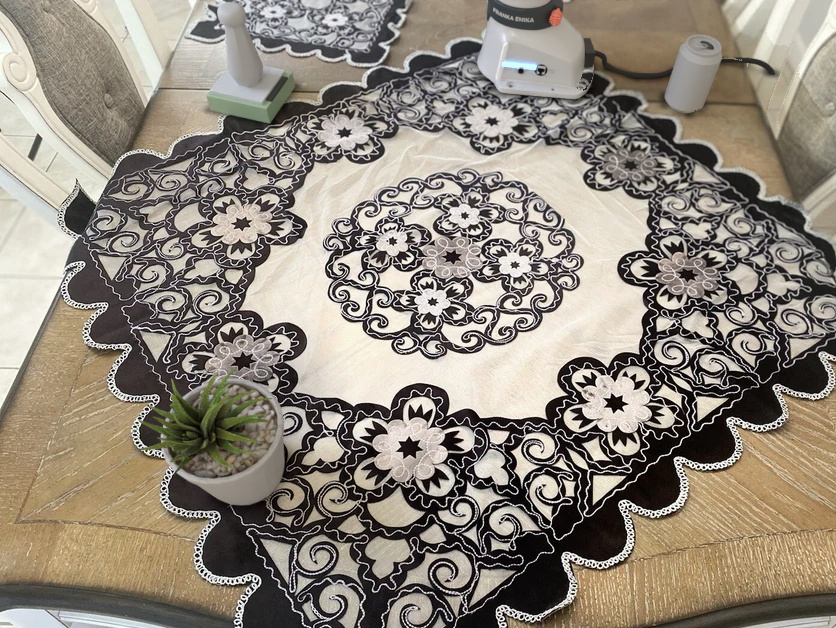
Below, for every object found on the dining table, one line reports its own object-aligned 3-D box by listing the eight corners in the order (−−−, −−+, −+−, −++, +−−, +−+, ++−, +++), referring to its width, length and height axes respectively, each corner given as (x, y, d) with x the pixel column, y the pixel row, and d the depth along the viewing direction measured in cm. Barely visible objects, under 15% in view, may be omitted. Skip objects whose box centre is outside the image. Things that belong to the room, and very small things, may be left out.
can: (711, 107, 126) (734, 48, 116) (682, 120, 124) (704, 60, 114) (683, 86, 130) (704, 26, 120) (654, 98, 127) (674, 38, 117)
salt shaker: (269, 72, 118) (253, -2, 108) (260, 92, 115) (243, 18, 104) (236, 68, 118) (217, -6, 108) (226, 88, 115) (205, 14, 104)
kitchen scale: (295, 86, 122) (291, 68, 119) (270, 123, 116) (265, 105, 113) (238, 74, 123) (233, 56, 120) (210, 110, 117) (205, 92, 114)
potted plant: (191, 428, 84) (132, 336, 67) (304, 424, 85) (273, 332, 69) (174, 525, 77) (103, 450, 60) (296, 520, 78) (260, 444, 62)
